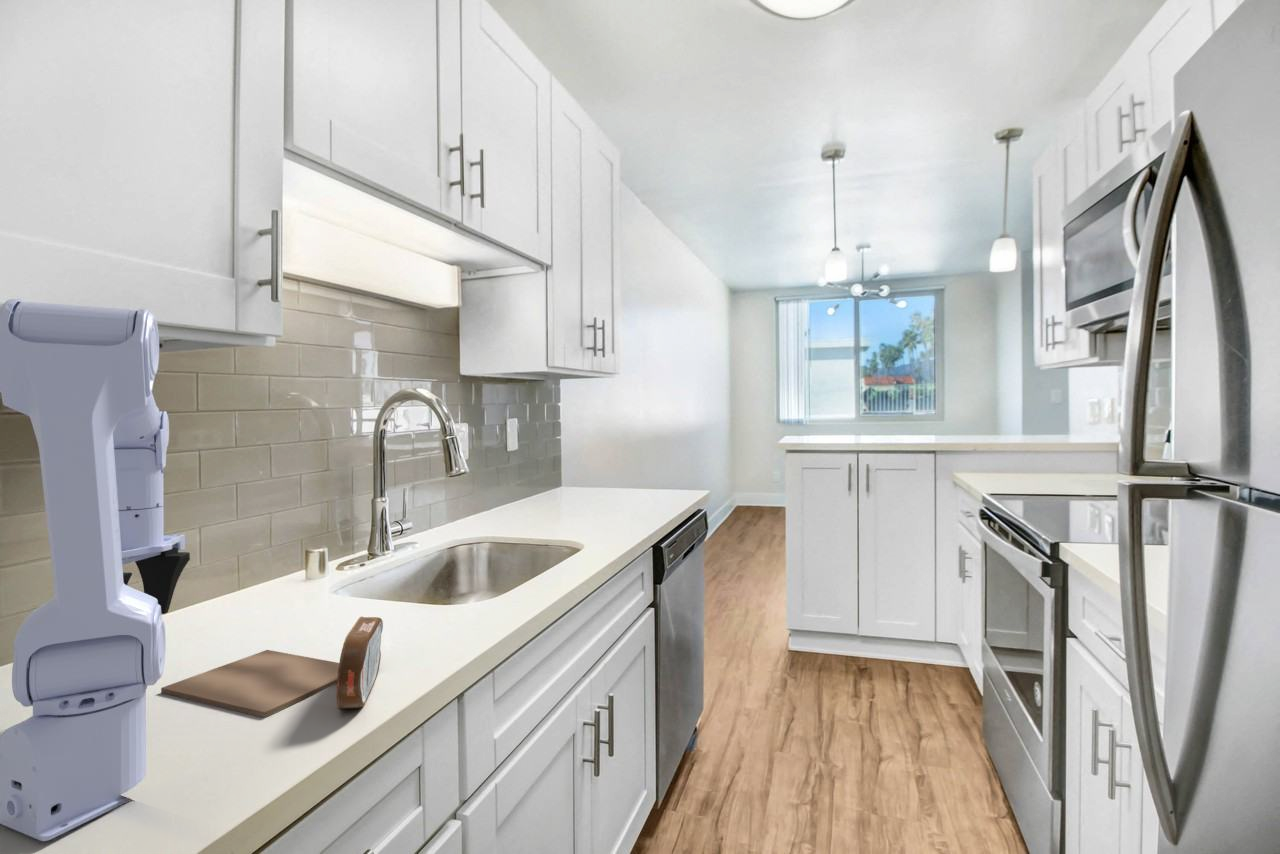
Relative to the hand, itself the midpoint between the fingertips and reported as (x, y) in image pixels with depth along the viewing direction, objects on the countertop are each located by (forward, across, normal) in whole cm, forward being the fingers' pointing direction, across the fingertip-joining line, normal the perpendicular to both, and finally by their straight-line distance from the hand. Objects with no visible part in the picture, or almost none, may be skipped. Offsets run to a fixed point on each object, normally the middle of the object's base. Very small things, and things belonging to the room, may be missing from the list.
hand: (133, 623), depth 74 cm
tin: (+10, +2, -26) cm, 28 cm away
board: (+9, +6, -12) cm, 16 cm away
